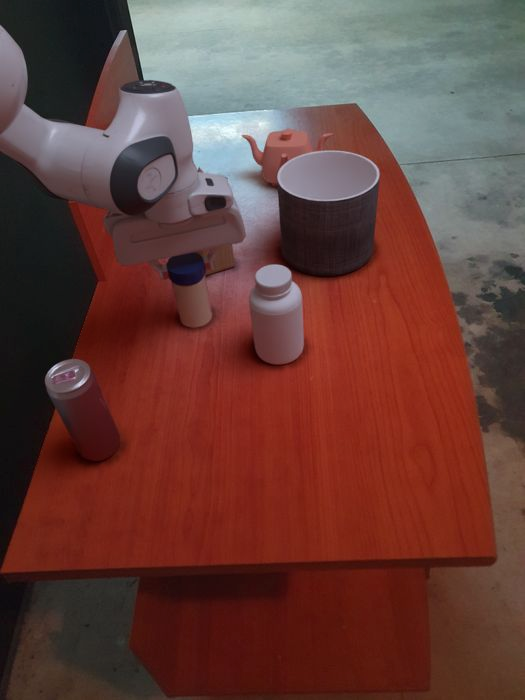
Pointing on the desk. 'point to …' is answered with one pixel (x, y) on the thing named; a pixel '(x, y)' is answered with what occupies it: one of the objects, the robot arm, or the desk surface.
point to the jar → (193, 303)
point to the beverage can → (83, 409)
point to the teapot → (282, 150)
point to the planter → (328, 211)
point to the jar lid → (186, 268)
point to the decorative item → (220, 255)
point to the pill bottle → (276, 315)
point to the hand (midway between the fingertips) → (187, 272)
